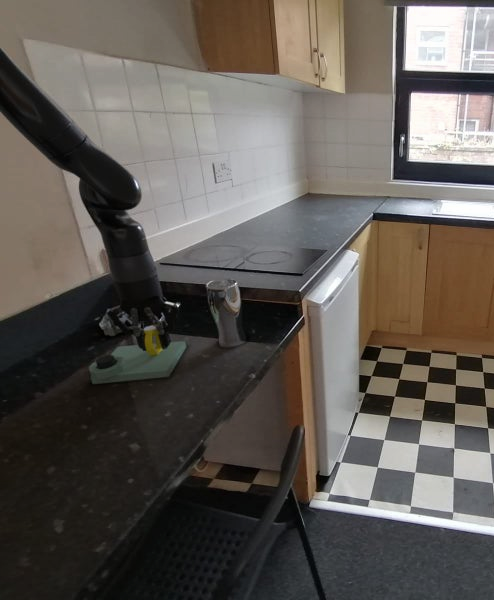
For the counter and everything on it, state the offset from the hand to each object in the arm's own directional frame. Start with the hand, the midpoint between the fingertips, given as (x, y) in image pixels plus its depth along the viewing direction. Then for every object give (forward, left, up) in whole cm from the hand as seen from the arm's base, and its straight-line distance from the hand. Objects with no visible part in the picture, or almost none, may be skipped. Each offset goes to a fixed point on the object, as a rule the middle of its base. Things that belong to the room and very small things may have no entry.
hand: (156, 347), depth 87 cm
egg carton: (-15, +18, -3) cm, 23 cm away
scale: (-3, -2, -3) cm, 4 cm away
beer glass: (+14, +5, -3) cm, 16 cm away
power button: (-7, -6, 0) cm, 9 cm away
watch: (0, 0, -1) cm, 1 cm away
